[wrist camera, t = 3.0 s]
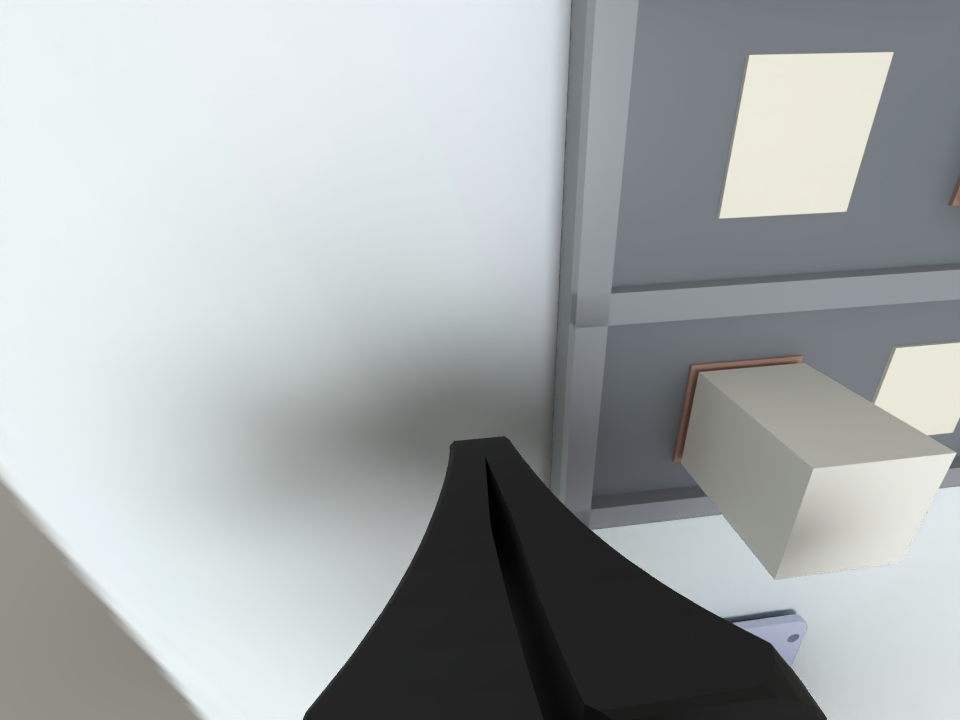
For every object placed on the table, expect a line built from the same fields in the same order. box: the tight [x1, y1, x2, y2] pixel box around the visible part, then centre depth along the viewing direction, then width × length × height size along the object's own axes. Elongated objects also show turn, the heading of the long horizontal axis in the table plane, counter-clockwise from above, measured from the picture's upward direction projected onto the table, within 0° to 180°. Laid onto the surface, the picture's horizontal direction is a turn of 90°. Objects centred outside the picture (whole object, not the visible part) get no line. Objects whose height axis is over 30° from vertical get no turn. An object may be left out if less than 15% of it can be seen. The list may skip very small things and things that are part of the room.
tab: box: [681, 363, 956, 580], centre depth 11 cm, size 3×3×4 cm
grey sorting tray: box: [550, 0, 960, 530], centre depth 12 cm, size 14×16×2 cm
